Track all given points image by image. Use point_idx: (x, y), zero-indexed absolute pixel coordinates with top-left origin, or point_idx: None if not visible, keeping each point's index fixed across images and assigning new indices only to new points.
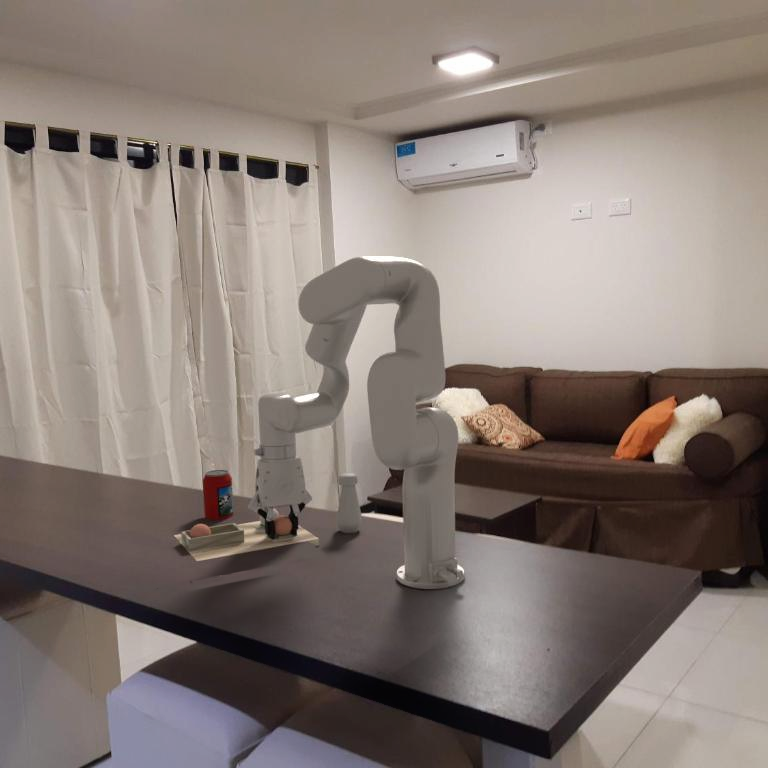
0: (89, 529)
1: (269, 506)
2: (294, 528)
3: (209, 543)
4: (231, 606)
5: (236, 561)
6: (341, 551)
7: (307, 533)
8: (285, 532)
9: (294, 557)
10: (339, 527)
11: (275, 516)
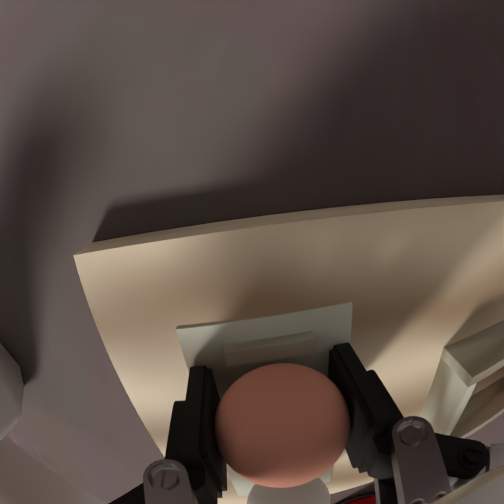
0: None
1: (499, 479)
2: (202, 393)
3: None
4: None
5: (491, 193)
6: (26, 108)
7: (130, 368)
8: (271, 366)
9: (272, 91)
10: (13, 376)
11: (273, 501)
